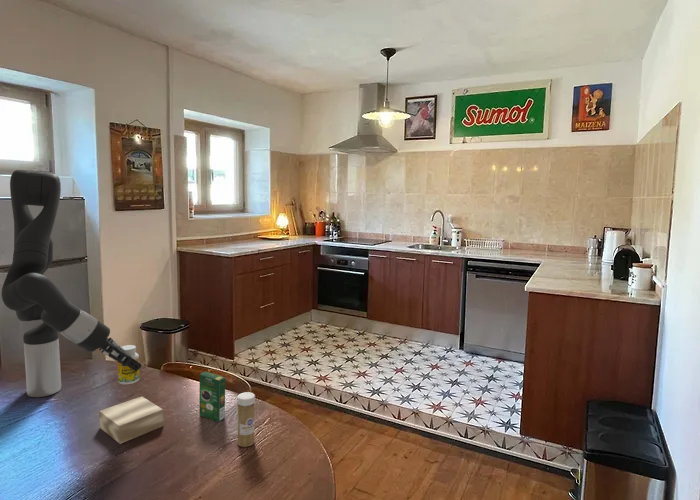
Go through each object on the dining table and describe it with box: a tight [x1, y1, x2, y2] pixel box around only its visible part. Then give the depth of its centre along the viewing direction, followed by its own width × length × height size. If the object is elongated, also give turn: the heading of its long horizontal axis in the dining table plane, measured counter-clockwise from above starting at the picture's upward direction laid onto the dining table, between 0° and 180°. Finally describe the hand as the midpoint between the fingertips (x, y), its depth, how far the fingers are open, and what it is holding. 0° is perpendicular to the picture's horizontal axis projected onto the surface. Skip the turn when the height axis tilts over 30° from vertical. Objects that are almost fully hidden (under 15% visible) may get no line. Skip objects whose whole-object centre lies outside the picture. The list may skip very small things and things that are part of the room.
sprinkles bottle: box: [236, 391, 256, 448], centre depth 119 cm, size 5×5×13 cm
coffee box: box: [198, 371, 226, 423], centre depth 132 cm, size 8×3×13 cm, turn 63°
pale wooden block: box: [98, 395, 164, 445], centre depth 126 cm, size 12×12×5 cm
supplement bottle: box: [116, 344, 141, 385], centre depth 123 cm, size 5×5×10 cm
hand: (135, 364), depth 125 cm, fingers closed on supplement bottle, 5 cm apart
